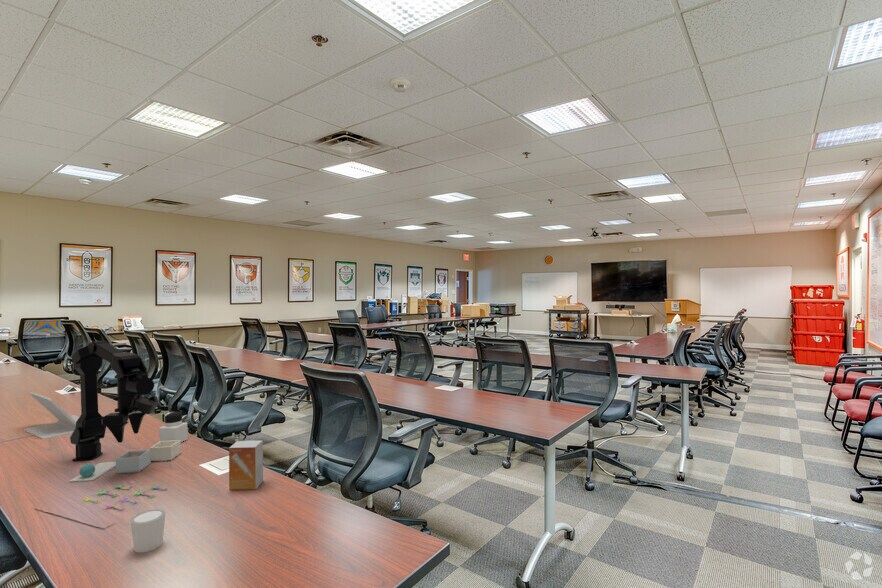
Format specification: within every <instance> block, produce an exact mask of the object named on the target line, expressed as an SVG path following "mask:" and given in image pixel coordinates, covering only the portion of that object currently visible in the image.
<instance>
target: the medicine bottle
mask: <svg viewBox="0 0 882 588" xmlns="http://www.w3.org/2000/svg"><path fill="white" fill-rule="evenodd" d="M163 417H164V419H163V420H164V425H162V426H160V427H158V438H159V439H158V442H160V441H173V440H181V442H182V443H184V442H186V441H188V439H189V438H188V437H189V436H188V435H189V433H188V422H183V413H182V412H181V411H171V412H167V413H166V414H165V415H164V416H163ZM185 440H186V441H185ZM183 441H184V442H183Z"/></svg>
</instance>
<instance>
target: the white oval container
mask: <svg viewBox="0 0 882 588" xmlns="http://www.w3.org/2000/svg"><path fill="white" fill-rule="evenodd" d="M165 521H166V511H165V510H163V509H157V508H156V509H150V510H146V511H143V512H140V513H138V514H136V515H135V516H133V517H132V518H131V519H130V528H131V536H132V542H133V550H134V552H135V553H148V552H150V551H154V550H155V549H158V548H160V546H161V545H162V544H163V542H164V529H165Z"/></svg>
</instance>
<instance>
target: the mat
mask: <svg viewBox="0 0 882 588" xmlns="http://www.w3.org/2000/svg"><path fill="white" fill-rule="evenodd" d="M94 466H95V472H94V473H93V474H92V475H91V476H88V477H83V476H81V475H80V474H79V475H77V476H75V477H74V478H72V479H70V480H68V483H81V482H82V483H83V482H93V481H96V480H97V479H98V478H100V477H101V476H103V475H105V474H106V473H108V472H109V471H111V470H112V469H114V468H116V461H107V462H99V463H97V464H95V465H94Z"/></svg>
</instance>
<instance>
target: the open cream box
mask: <svg viewBox="0 0 882 588" xmlns="http://www.w3.org/2000/svg"><path fill="white" fill-rule="evenodd" d="M181 444H182V443H181V440H173V441H160V442H159V441H158V442H156V443H155V444H154V445H151V447H149V450H150V453H151V461H160V462H168V461H167V460H172V459H173V460H175V459H176V458H177V457H178V456H180V455H181V454H182V447H181ZM180 453H181V454H180ZM179 454H180V455H179ZM177 455H178V456H177ZM176 456H177V457H176ZM175 457H176V458H175ZM173 460H172V461H173Z"/></svg>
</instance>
